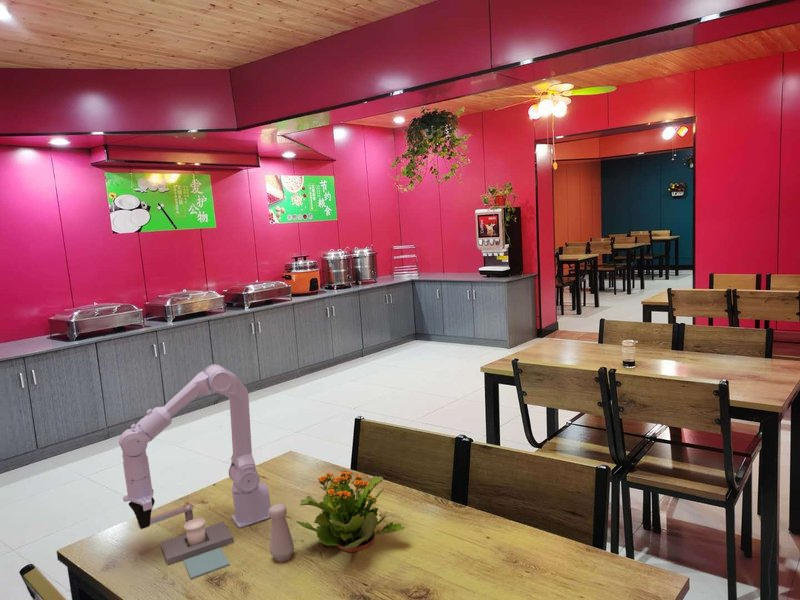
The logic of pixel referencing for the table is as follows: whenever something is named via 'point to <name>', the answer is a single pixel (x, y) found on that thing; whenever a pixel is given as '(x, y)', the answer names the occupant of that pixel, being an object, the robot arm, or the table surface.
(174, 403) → the robot arm
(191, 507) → the clip
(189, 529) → the plug
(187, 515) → the clip post
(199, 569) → the mat
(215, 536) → the socket block
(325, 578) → the table surface
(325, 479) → the potted flower
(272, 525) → the salt shaker
